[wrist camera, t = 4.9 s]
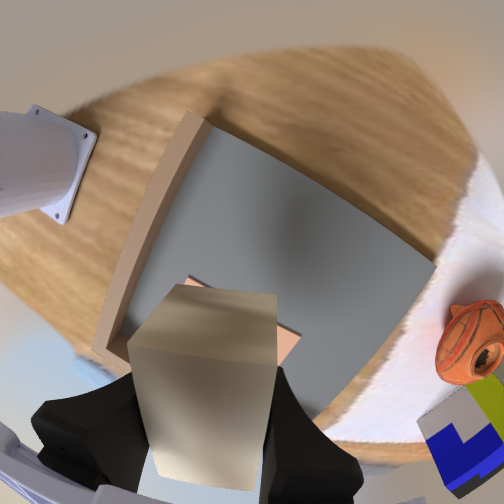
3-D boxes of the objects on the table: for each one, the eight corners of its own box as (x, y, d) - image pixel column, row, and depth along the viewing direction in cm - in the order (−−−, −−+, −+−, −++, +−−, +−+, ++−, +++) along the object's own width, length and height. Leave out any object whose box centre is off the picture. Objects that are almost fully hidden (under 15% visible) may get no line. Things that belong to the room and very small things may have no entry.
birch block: (183, 409, 15) (159, 475, 10) (176, 283, 12) (126, 343, 8) (259, 419, 14) (253, 491, 10) (276, 294, 12) (277, 365, 7)
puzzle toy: (415, 420, 24) (444, 486, 14) (485, 365, 22) (530, 419, 12) (436, 446, 25) (458, 499, 16) (494, 401, 23) (526, 448, 14)
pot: (456, 374, 22) (477, 413, 15) (407, 341, 23) (423, 381, 16) (504, 311, 19) (537, 338, 13) (458, 270, 20) (491, 291, 14)
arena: (109, 331, 23) (91, 350, 20) (200, 120, 18) (186, 110, 15) (300, 424, 24) (302, 449, 21) (432, 263, 19) (453, 277, 16)
